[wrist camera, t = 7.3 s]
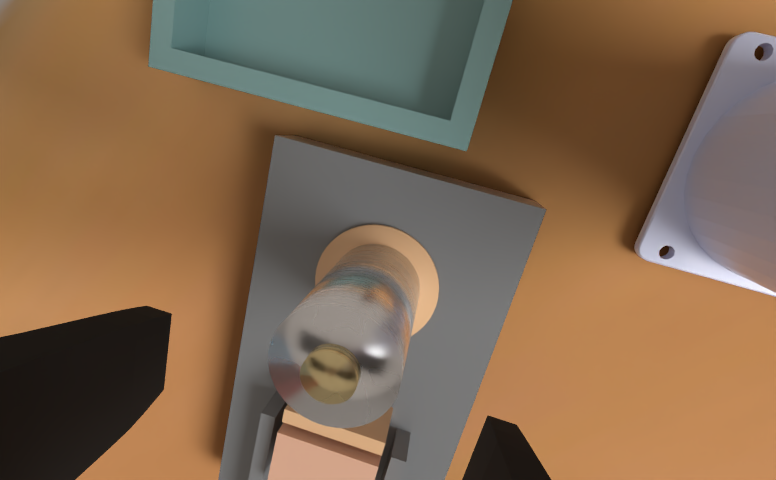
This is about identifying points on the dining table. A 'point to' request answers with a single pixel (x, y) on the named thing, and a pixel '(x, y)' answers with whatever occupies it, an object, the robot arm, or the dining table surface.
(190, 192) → the dining table surface
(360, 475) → the slider
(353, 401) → the steel cell
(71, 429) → the robot arm
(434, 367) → the battery checker
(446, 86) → the trough
